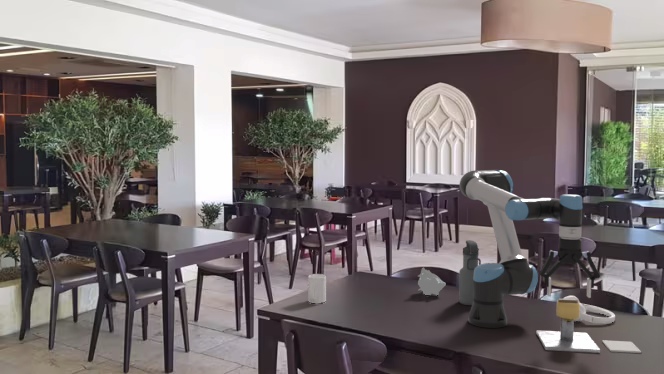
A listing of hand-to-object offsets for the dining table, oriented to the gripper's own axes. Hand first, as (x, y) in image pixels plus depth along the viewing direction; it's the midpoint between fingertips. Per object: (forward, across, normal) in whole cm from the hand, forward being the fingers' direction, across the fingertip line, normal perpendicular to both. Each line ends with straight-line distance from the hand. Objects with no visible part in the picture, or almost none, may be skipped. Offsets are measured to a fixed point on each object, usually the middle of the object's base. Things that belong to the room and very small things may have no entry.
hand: (568, 296), depth 213 cm
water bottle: (+17, -31, +48) cm, 60 cm away
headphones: (+17, +16, +34) cm, 41 cm away
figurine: (+17, -48, +60) cm, 79 cm away
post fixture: (+17, 0, 0) cm, 17 cm away
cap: (+7, 0, 0) cm, 7 cm away
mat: (+17, +18, -2) cm, 25 cm away
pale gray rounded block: (+16, -100, +38) cm, 108 cm away
